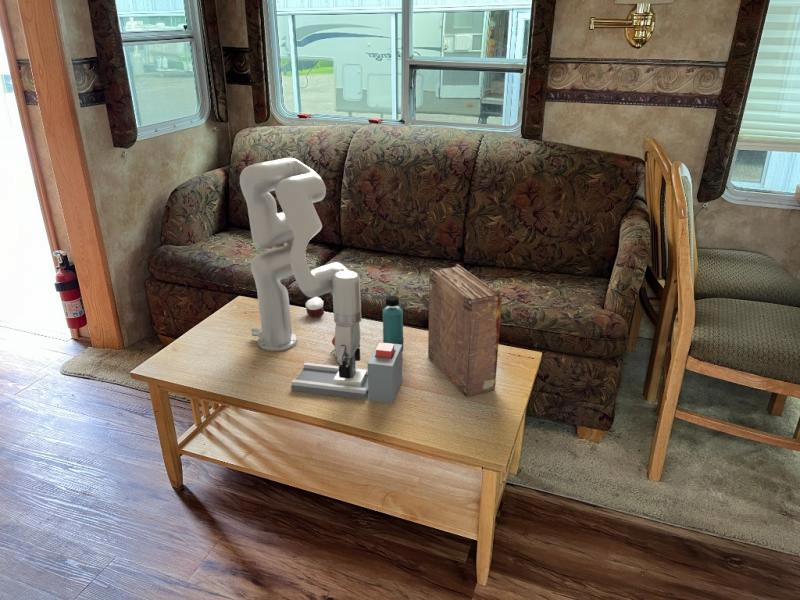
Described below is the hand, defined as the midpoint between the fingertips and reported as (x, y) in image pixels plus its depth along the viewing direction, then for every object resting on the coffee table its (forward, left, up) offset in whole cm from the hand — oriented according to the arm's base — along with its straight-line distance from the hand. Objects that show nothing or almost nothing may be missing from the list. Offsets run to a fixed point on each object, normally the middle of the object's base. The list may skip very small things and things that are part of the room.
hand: (350, 368), depth 178 cm
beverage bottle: (+8, +20, -6) cm, 22 cm away
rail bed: (-5, 0, -6) cm, 8 cm away
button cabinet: (+10, 0, -6) cm, 12 cm away
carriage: (0, 0, -4) cm, 4 cm away
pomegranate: (-8, +18, -6) cm, 21 cm away
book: (+30, +14, -6) cm, 34 cm away
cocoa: (-26, +42, -6) cm, 50 cm away
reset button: (+10, 0, +4) cm, 11 cm away
